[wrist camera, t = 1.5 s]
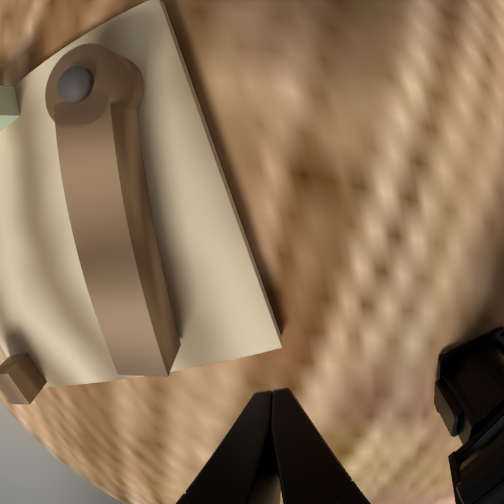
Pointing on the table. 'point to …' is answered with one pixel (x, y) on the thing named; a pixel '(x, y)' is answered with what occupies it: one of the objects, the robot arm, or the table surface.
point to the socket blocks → (8, 106)
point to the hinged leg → (112, 205)
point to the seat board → (164, 218)
